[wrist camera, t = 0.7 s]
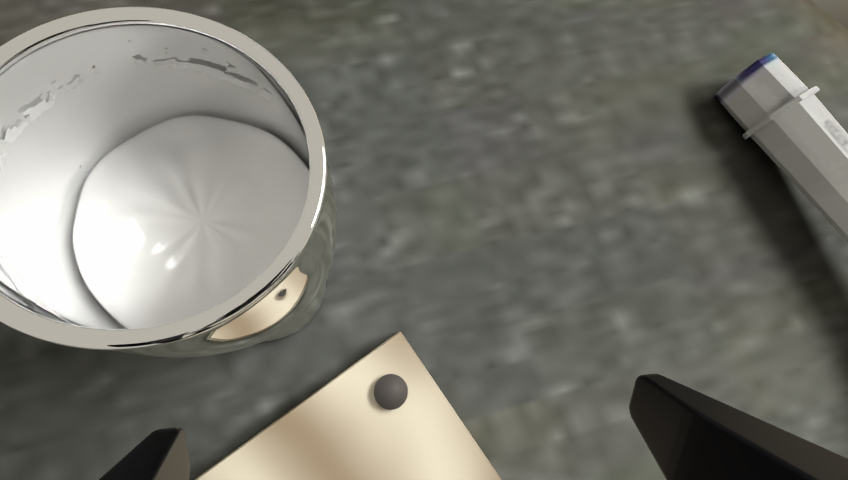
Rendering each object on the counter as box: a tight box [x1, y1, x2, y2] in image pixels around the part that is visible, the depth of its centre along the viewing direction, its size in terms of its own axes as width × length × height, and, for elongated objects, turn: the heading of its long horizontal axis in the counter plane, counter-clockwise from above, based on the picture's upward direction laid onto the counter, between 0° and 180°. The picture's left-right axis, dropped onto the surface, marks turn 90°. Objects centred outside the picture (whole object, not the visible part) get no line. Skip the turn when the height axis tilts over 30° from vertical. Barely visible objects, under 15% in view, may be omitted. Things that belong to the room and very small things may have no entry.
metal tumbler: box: [0, 7, 337, 357], centre depth 15 cm, size 7×7×15 cm
